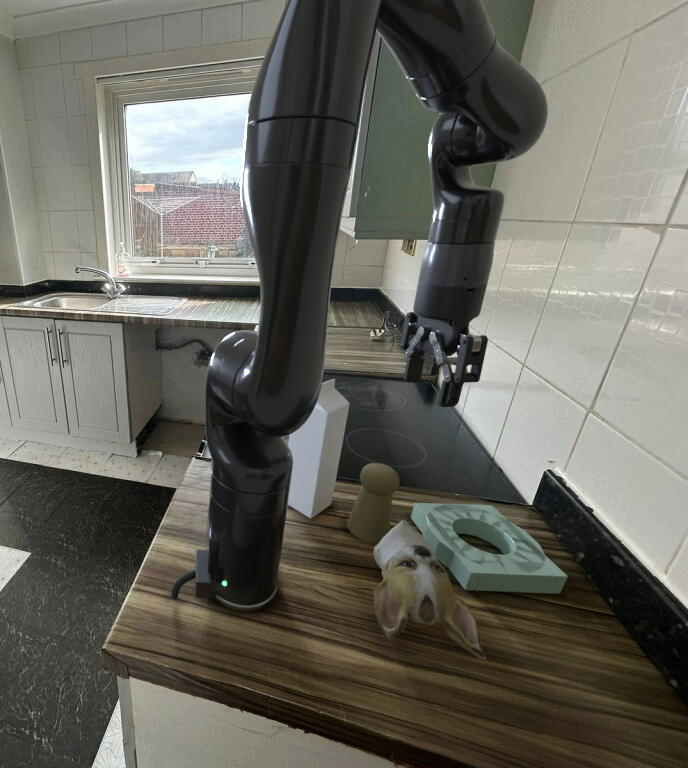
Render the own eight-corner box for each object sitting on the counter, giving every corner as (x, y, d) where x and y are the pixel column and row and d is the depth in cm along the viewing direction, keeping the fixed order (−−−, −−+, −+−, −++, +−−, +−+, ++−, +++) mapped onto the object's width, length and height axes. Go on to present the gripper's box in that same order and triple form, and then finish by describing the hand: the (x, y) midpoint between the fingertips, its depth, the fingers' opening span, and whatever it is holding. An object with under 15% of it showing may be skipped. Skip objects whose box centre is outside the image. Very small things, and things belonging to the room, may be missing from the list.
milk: (331, 504, 68) (354, 384, 60) (310, 519, 65) (332, 393, 56) (301, 487, 72) (319, 372, 64) (279, 500, 69) (296, 380, 61)
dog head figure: (451, 515, 52) (511, 623, 39) (434, 563, 56) (484, 677, 43) (363, 504, 54) (392, 602, 41) (352, 551, 58) (376, 655, 45)
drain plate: (458, 590, 52) (464, 572, 51) (405, 517, 65) (409, 502, 64) (566, 594, 52) (575, 576, 51) (491, 520, 65) (497, 505, 64)
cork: (380, 517, 65) (394, 458, 61) (396, 544, 60) (412, 482, 56) (342, 514, 66) (353, 456, 62) (353, 541, 60) (367, 479, 56)
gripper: (394, 272, 58) (378, 375, 65) (459, 290, 45) (431, 417, 52) (446, 269, 58) (425, 373, 65) (526, 286, 45) (490, 414, 52)
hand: (428, 392), depth 58 cm, fingers open, 8 cm apart
